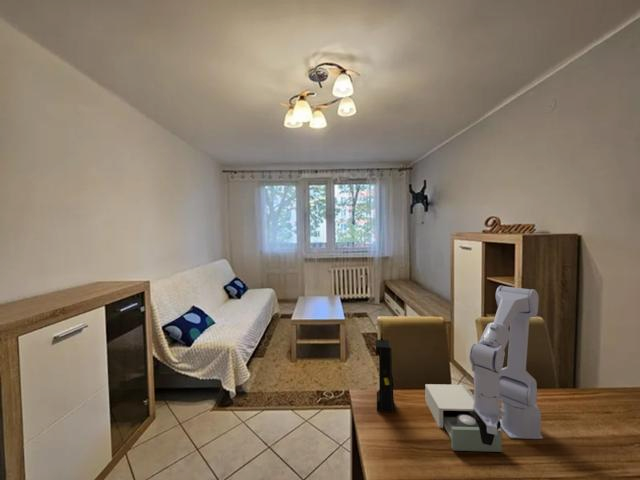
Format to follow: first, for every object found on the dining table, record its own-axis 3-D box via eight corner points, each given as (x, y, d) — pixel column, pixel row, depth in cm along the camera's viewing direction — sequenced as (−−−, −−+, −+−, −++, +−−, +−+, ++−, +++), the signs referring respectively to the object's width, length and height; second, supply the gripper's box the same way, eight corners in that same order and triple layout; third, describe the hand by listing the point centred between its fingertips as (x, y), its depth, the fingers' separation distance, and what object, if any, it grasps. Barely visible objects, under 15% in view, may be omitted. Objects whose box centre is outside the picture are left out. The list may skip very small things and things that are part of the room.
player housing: (465, 401, 101) (464, 384, 101) (485, 428, 87) (485, 409, 87) (425, 400, 102) (425, 384, 102) (439, 427, 88) (439, 408, 88)
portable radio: (395, 415, 95) (394, 341, 94) (376, 413, 96) (375, 340, 95) (393, 401, 102) (392, 333, 102) (376, 399, 104) (375, 332, 103)
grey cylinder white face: (472, 427, 87) (472, 414, 87) (481, 440, 81) (481, 426, 81) (454, 426, 87) (454, 413, 87) (461, 439, 82) (461, 425, 82)
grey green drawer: (477, 419, 91) (477, 401, 91) (501, 451, 78) (501, 430, 78) (436, 418, 92) (436, 400, 92) (452, 450, 79) (452, 429, 79)
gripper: (512, 411, 65) (512, 469, 65) (498, 380, 78) (498, 428, 78) (477, 405, 67) (477, 460, 67) (469, 375, 81) (469, 422, 81)
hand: (486, 442), depth 73 cm, fingers closed
